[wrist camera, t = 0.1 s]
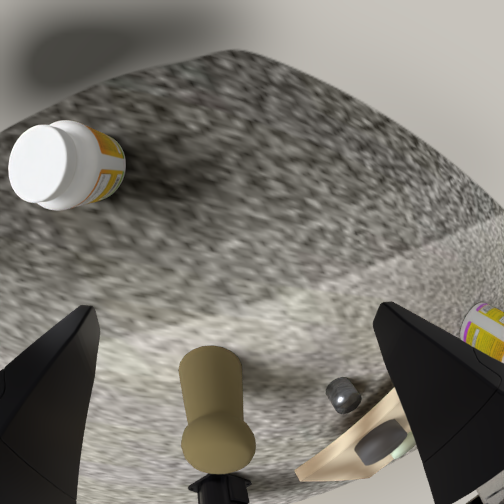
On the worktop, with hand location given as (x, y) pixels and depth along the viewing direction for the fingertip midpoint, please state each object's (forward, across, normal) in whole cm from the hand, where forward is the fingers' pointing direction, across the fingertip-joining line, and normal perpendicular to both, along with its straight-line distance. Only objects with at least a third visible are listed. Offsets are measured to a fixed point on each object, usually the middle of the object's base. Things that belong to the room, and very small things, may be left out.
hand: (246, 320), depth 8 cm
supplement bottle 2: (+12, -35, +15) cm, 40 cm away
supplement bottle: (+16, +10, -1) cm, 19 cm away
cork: (+12, 0, +17) cm, 21 cm away
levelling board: (+5, -19, +24) cm, 31 cm away
